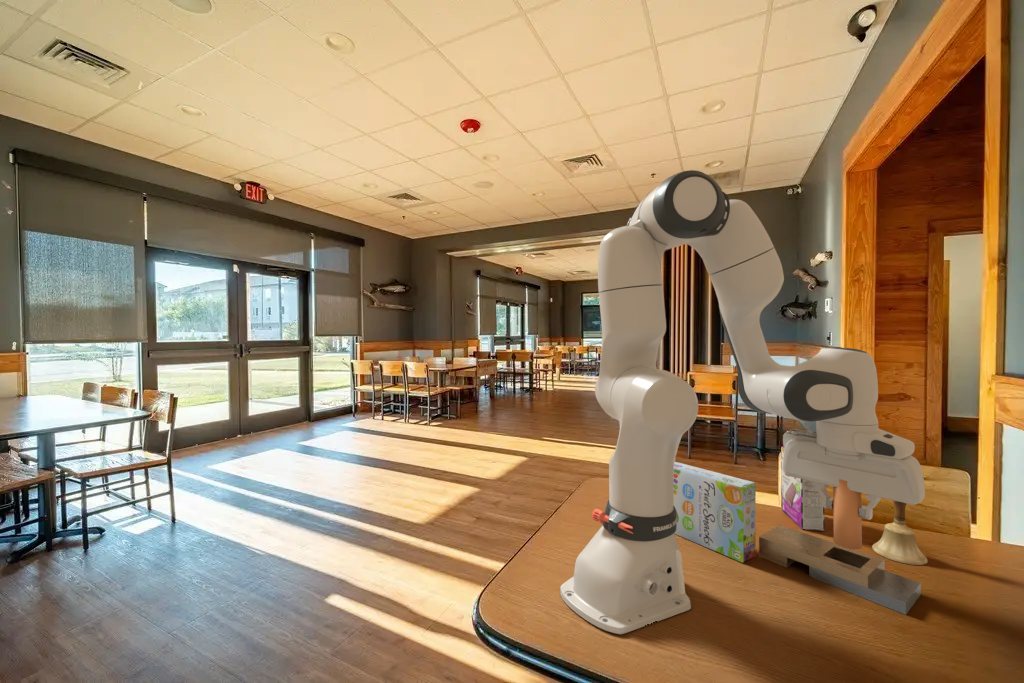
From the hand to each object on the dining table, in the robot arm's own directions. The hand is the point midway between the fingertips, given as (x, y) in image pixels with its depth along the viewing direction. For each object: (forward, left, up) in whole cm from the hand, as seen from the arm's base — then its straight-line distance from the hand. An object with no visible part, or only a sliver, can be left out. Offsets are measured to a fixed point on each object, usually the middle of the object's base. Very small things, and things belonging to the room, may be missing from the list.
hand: (847, 512), depth 77 cm
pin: (0, 0, -6) cm, 6 cm away
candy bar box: (+21, +15, -12) cm, 29 cm away
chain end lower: (0, -2, -12) cm, 12 cm away
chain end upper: (0, +4, -12) cm, 13 cm away
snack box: (-7, +24, -12) cm, 28 cm away
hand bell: (+19, -3, -12) cm, 23 cm away
